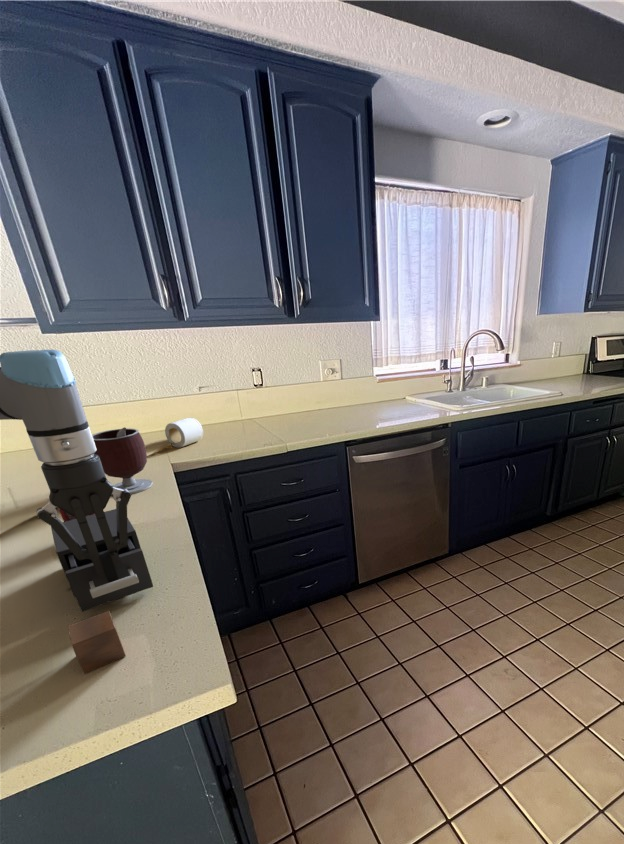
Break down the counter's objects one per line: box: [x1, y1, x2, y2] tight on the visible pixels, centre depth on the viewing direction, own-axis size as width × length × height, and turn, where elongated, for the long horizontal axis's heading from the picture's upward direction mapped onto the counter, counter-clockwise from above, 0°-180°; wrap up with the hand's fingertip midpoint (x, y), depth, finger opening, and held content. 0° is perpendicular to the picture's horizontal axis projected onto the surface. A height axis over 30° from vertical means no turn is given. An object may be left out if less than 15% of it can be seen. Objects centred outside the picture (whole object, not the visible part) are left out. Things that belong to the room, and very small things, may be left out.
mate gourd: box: [92, 426, 153, 496], centre depth 128 cm, size 16×14×20 cm
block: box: [67, 610, 127, 675], centre depth 65 cm, size 6×6×6 cm
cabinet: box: [50, 508, 142, 598], centre depth 87 cm, size 15×13×10 cm
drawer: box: [65, 537, 154, 613], centre depth 79 cm, size 18×12×8 cm, turn 39°
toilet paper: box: [164, 417, 204, 449], centre depth 175 cm, size 10×10×10 cm
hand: (115, 586), depth 75 cm, fingers closed
